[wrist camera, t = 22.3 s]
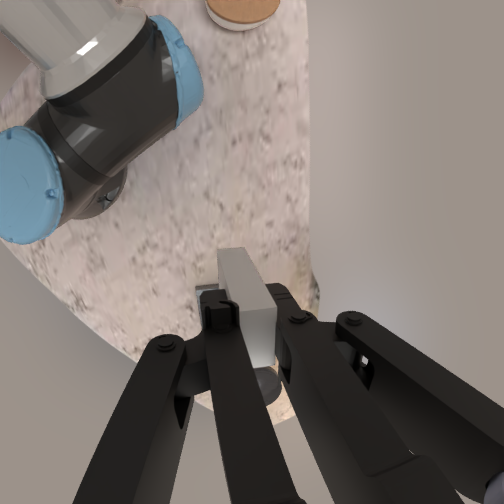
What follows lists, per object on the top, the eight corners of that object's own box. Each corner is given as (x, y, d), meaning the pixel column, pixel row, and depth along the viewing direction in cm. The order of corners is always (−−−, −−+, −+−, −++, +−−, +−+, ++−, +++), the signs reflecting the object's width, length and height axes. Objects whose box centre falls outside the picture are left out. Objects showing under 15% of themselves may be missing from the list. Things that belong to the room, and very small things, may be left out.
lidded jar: (191, 26, 38) (192, 2, 29) (219, -19, 35) (225, -47, 27) (253, 49, 41) (267, 28, 32) (277, 3, 38) (294, -22, 30)
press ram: (225, 378, 38) (231, 413, 32) (219, 342, 36) (226, 377, 30) (269, 370, 39) (281, 404, 33) (267, 335, 37) (281, 368, 31)
